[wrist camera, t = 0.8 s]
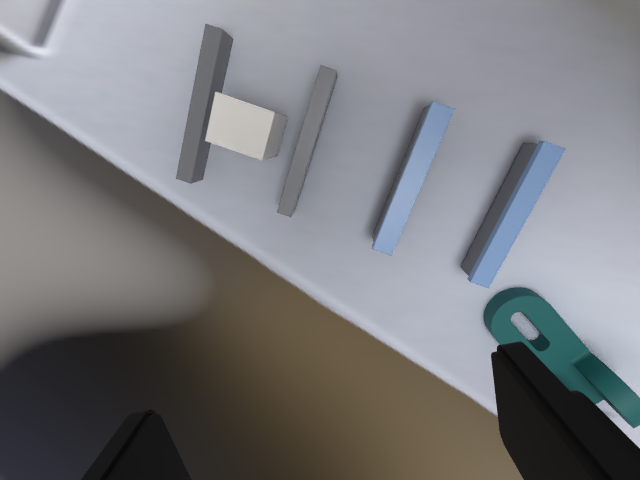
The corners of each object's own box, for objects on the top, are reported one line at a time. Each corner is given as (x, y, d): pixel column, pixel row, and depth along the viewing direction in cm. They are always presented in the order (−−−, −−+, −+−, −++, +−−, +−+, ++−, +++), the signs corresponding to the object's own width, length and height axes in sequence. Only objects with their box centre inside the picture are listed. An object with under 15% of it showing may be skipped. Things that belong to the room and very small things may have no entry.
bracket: (607, 375, 40) (668, 430, 33) (557, 404, 42) (604, 463, 34) (521, 275, 37) (567, 311, 30) (471, 311, 39) (502, 353, 31)
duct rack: (218, 31, 31) (202, 17, 28) (540, 147, 33) (565, 148, 29) (188, 176, 36) (171, 181, 32) (474, 273, 37) (488, 288, 33)
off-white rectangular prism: (240, 100, 33) (215, 91, 26) (288, 116, 33) (274, 112, 27) (231, 139, 34) (204, 140, 28) (277, 155, 34) (262, 160, 28)
